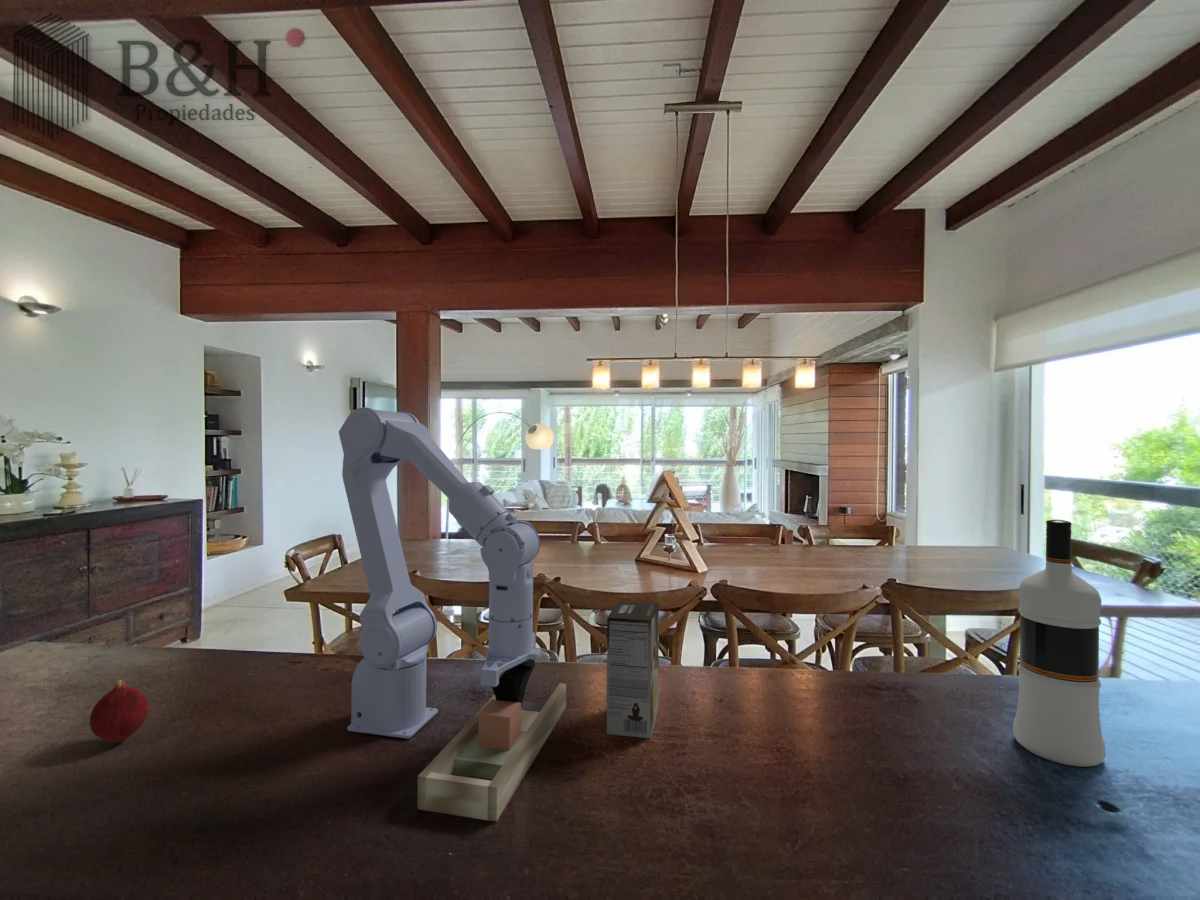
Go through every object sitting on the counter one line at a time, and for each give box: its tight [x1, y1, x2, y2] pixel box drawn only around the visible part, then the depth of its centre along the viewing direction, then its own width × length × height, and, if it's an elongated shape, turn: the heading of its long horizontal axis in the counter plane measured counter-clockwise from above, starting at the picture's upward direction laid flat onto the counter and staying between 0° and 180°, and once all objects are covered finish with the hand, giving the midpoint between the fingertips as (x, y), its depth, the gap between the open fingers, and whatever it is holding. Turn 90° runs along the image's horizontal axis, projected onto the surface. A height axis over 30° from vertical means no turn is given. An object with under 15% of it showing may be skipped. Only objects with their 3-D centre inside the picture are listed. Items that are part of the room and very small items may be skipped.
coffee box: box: [606, 600, 660, 740], centre depth 79 cm, size 9×6×16 cm
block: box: [479, 700, 521, 750], centre depth 70 cm, size 4×4×4 cm
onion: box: [89, 679, 150, 745], centre depth 72 cm, size 6×6×8 cm
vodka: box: [1012, 519, 1106, 768], centre depth 72 cm, size 9×9×30 cm
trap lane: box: [416, 682, 567, 823], centre depth 71 cm, size 9×26×4 cm, turn 168°
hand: (509, 719), depth 73 cm, fingers closed
